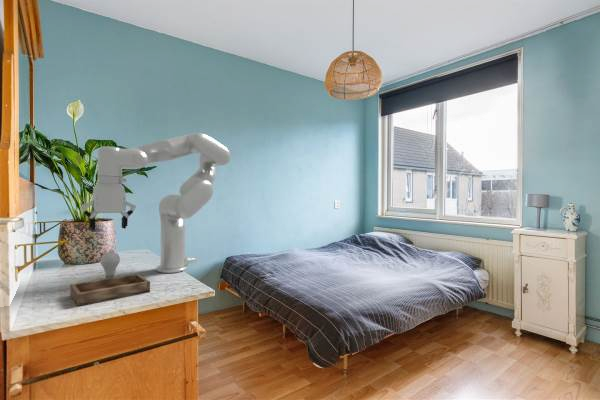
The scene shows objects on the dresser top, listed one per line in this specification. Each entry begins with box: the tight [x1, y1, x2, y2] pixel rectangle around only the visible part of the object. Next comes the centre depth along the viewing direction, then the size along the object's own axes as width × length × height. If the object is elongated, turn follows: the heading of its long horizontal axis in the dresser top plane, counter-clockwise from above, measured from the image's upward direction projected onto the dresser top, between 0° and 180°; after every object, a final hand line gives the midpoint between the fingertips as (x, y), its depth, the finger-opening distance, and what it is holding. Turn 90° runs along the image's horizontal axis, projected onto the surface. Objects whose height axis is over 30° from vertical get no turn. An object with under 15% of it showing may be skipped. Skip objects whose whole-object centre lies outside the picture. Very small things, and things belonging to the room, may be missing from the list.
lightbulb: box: [99, 251, 121, 279], centre depth 114 cm, size 6×6×11 cm
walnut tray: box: [69, 273, 151, 307], centre depth 102 cm, size 20×12×4 cm, turn 134°
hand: (108, 228), depth 113 cm, fingers open, 9 cm apart
